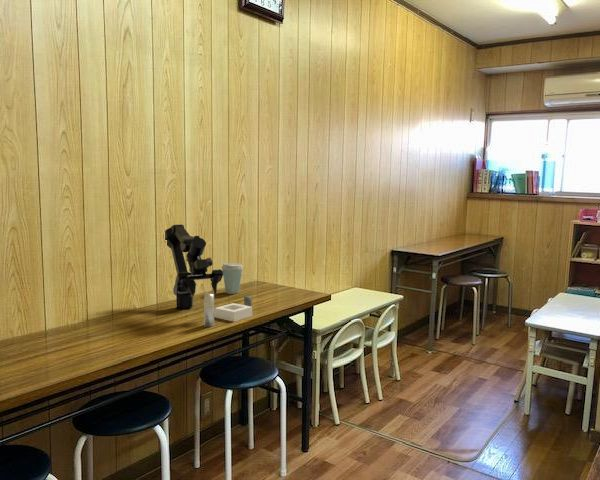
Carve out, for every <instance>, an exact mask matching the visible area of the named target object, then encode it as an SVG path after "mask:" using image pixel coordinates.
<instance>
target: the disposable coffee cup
mask: <svg viewBox="0 0 600 480" xmlns="http://www.w3.org/2000/svg"><path fill="white" fill-rule="evenodd" d="M243 269H244V267H243V265H242V263H241V264H240V263H232V262H227V263H226V262H225V263H222V265H221V270H222V271H223V277H222V278H223V283H224V288H225V289H224V291H225V293H226V294H227V293H228V294H229V295H236V294H235V293H237V294H239V293H240V289H241V281H242V276H243ZM238 292H239V293H238Z"/></svg>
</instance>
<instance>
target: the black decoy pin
mask: <svg viewBox="0 0 600 480" xmlns="http://www.w3.org/2000/svg"><path fill="white" fill-rule="evenodd" d="M252 298H253V297H252V296H251V295H249V296H247V295H246V296H244V297H243V299H244V301H243V305H245V306H251V307H252V308H253V306H252V304H253V303H252V301H253V299H252Z"/></svg>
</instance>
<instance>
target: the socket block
mask: <svg viewBox="0 0 600 480" xmlns="http://www.w3.org/2000/svg"><path fill="white" fill-rule="evenodd" d="M251 317H253V306H252V307H251V306H245V305H244V304H239V303H235V302H234V303H233V302H232V303H228V304H225V305H221V306H217V307H214V319H215V318H216V319H220V320H225V321H230V322H237V321H241V320H245V319H248V318H251Z"/></svg>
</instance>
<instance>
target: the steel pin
mask: <svg viewBox="0 0 600 480" xmlns="http://www.w3.org/2000/svg"><path fill="white" fill-rule="evenodd" d="M203 326H204V327H206V328H212V327H215V293H214V292H213V293H211V292H207V293H203Z"/></svg>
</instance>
